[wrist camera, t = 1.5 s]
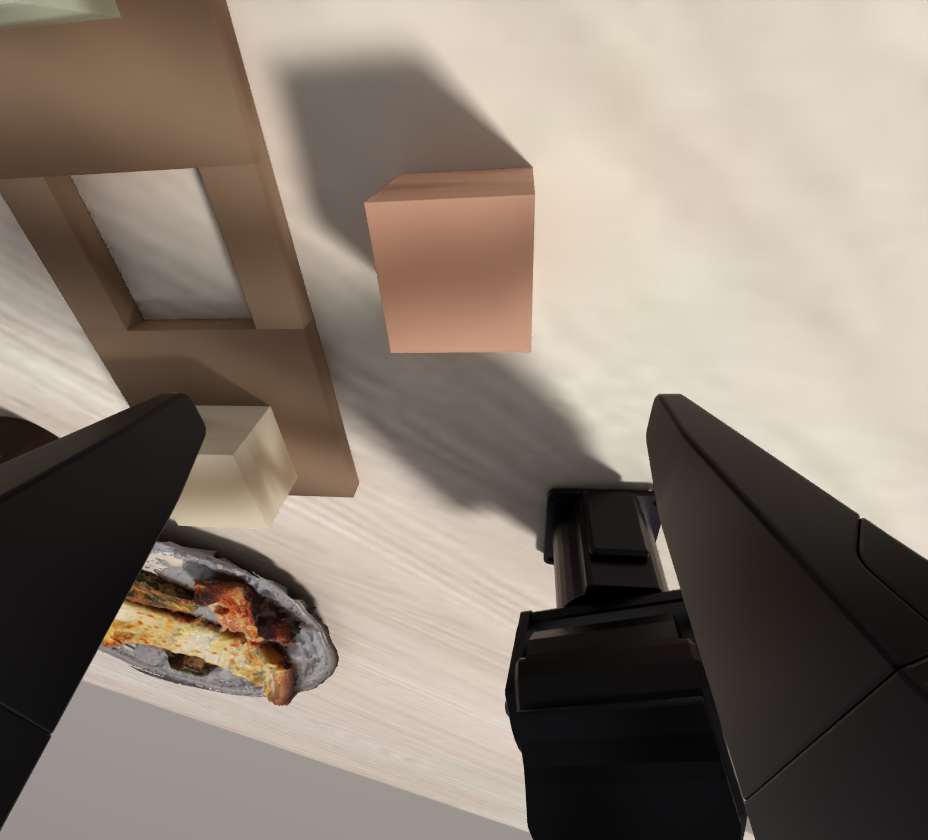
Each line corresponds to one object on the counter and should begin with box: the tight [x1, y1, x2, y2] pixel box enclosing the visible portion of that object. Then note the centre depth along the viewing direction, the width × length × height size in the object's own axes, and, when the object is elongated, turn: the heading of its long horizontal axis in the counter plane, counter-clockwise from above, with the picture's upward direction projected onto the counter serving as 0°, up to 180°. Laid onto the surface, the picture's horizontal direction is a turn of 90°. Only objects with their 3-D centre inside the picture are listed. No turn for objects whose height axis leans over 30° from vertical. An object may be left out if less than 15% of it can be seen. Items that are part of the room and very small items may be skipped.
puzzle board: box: [0, 0, 359, 529], centre depth 18 cm, size 28×11×5 cm, turn 4°
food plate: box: [99, 541, 339, 706], centre depth 38 cm, size 25×23×4 cm
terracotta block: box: [364, 167, 535, 353], centre depth 17 cm, size 5×5×5 cm
